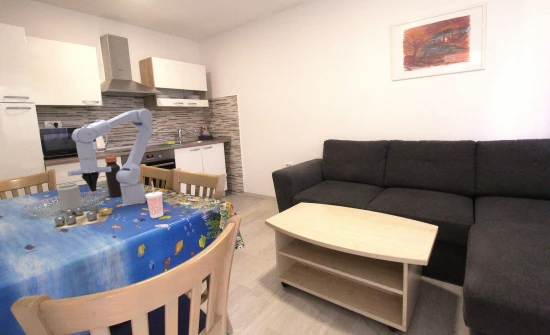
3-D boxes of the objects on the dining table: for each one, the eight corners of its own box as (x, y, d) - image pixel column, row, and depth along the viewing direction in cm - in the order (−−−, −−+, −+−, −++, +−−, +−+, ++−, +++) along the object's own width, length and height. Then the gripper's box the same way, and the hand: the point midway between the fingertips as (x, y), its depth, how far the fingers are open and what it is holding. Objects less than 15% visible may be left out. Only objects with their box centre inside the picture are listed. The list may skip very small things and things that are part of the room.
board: (113, 208, 116) (113, 207, 116) (105, 222, 101) (105, 220, 100) (69, 215, 110) (69, 214, 110) (53, 231, 95) (53, 229, 95)
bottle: (106, 197, 135) (99, 158, 131) (116, 193, 141) (109, 156, 138) (118, 197, 134) (111, 158, 130) (127, 193, 140) (121, 156, 136)
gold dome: (113, 211, 111) (112, 206, 110) (111, 215, 107) (110, 209, 106) (101, 213, 109) (99, 207, 108) (98, 217, 105) (97, 211, 104)
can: (71, 213, 113) (66, 186, 111) (57, 213, 115) (51, 186, 112) (87, 207, 120) (82, 181, 118) (73, 207, 122) (68, 181, 120)
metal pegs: (102, 210, 113) (101, 203, 112) (95, 220, 101) (94, 213, 100) (66, 216, 108) (64, 209, 108) (53, 228, 96) (52, 220, 96)
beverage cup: (161, 211, 109) (156, 178, 106) (167, 215, 105) (163, 180, 102) (146, 216, 105) (140, 181, 102) (152, 219, 101) (146, 184, 98)
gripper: (62, 161, 100) (69, 196, 103) (106, 157, 105) (112, 190, 108) (68, 159, 107) (75, 191, 109) (109, 155, 112) (115, 186, 115)
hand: (93, 190), depth 109 cm, fingers closed
